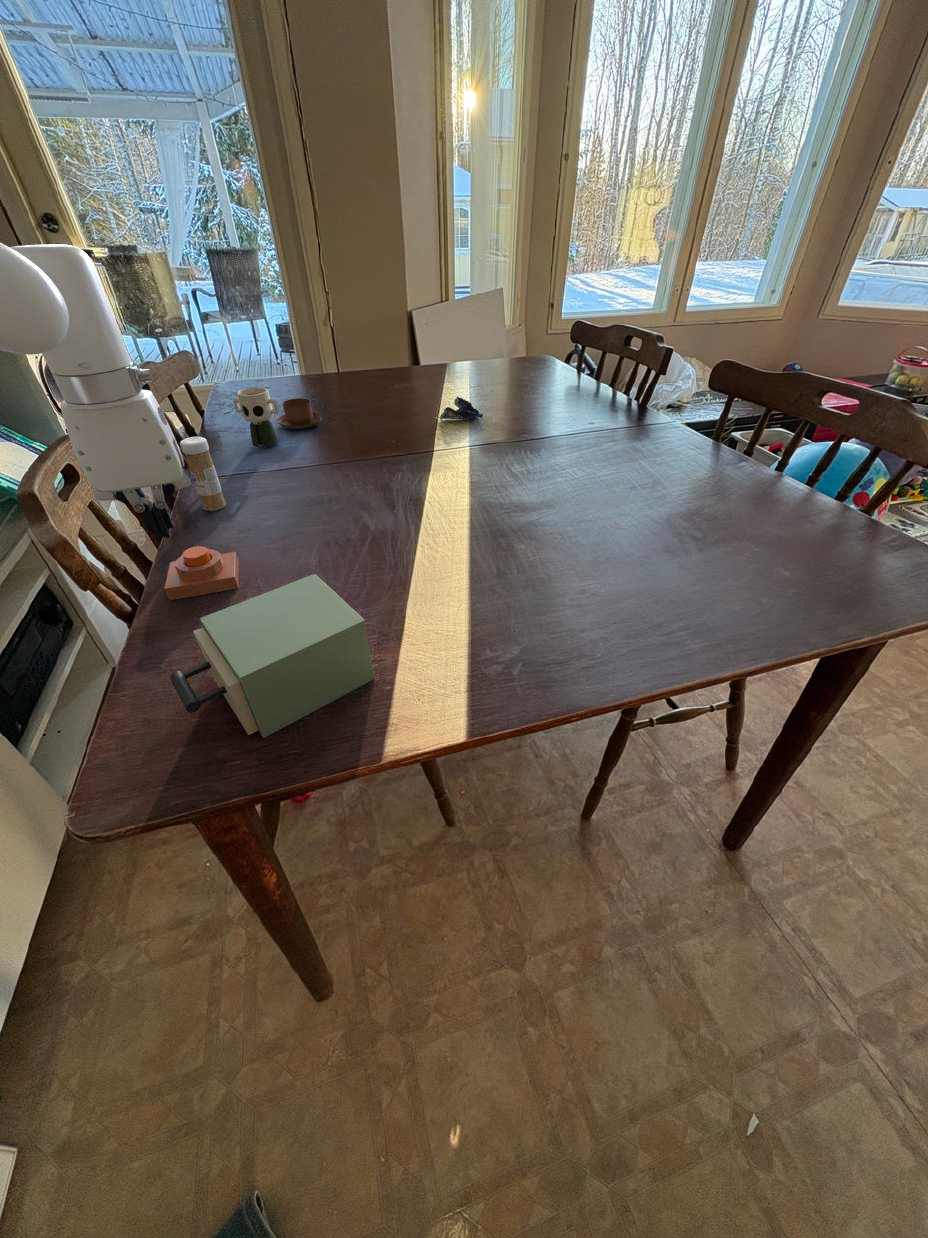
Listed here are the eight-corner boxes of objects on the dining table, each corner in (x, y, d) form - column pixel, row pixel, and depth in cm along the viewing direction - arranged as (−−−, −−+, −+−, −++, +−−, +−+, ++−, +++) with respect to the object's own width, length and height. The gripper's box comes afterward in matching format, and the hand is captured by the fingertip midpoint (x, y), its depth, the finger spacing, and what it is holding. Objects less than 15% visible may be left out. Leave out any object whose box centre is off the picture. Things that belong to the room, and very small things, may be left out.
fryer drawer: (210, 755, 55) (185, 706, 50) (178, 695, 61) (153, 646, 57) (355, 680, 63) (346, 631, 58) (313, 634, 70) (301, 587, 65)
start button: (185, 569, 78) (181, 559, 77) (187, 557, 81) (183, 548, 80) (210, 565, 79) (206, 555, 78) (211, 554, 82) (208, 544, 80)
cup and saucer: (283, 419, 146) (278, 396, 142) (326, 418, 146) (322, 395, 142) (274, 433, 136) (268, 409, 133) (319, 432, 137) (315, 408, 133)
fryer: (263, 738, 57) (239, 678, 51) (223, 677, 65) (199, 618, 59) (374, 679, 65) (365, 620, 59) (327, 630, 72) (314, 573, 66)
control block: (169, 600, 78) (159, 579, 75) (174, 573, 84) (165, 552, 81) (238, 588, 80) (231, 567, 78) (239, 562, 86) (232, 541, 84)
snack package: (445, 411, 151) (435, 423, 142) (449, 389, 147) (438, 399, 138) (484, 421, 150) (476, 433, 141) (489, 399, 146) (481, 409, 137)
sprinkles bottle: (197, 509, 102) (173, 441, 93) (216, 500, 105) (194, 434, 97) (214, 513, 100) (190, 445, 92) (232, 504, 103) (211, 438, 95)
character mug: (239, 449, 127) (223, 394, 119) (251, 439, 133) (236, 386, 124) (281, 451, 126) (269, 395, 118) (291, 440, 132) (280, 387, 124)
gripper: (176, 370, 60) (224, 511, 72) (29, 384, 56) (104, 531, 68) (173, 386, 55) (225, 536, 66) (9, 403, 51) (95, 559, 62)
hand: (164, 533), depth 67 cm, fingers closed
